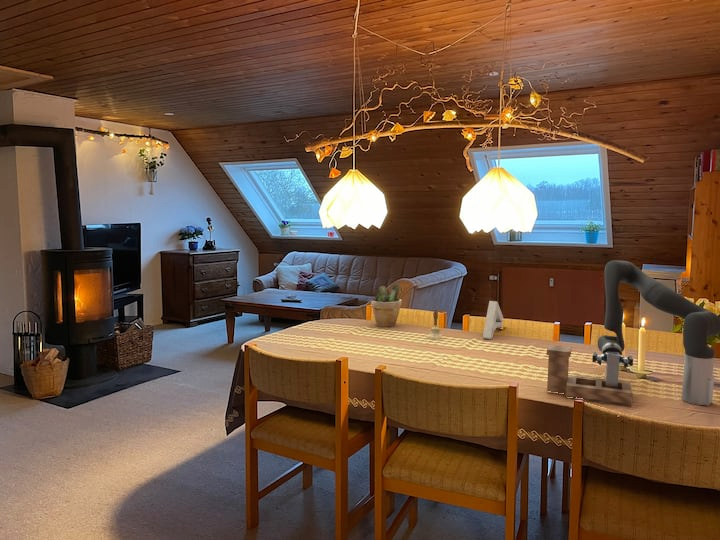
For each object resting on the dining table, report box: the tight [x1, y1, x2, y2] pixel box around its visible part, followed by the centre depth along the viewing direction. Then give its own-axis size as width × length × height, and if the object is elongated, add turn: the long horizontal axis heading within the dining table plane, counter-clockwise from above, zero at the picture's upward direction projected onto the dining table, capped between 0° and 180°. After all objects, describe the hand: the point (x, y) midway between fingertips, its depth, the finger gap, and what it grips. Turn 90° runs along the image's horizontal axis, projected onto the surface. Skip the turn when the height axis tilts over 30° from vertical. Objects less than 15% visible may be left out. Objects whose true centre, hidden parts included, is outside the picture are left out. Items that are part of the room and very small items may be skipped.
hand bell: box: [427, 308, 444, 340], centre depth 302 cm, size 8×8×16 cm
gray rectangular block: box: [605, 352, 620, 389], centre depth 206 cm, size 4×5×16 cm
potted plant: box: [370, 283, 403, 328], centre depth 332 cm, size 18×19×25 cm
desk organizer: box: [546, 344, 633, 408], centre depth 210 cm, size 30×14×17 cm, turn 67°
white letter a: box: [482, 300, 505, 341], centre depth 314 cm, size 22×4×30 cm
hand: (612, 363), depth 208 cm, fingers open, 8 cm apart
